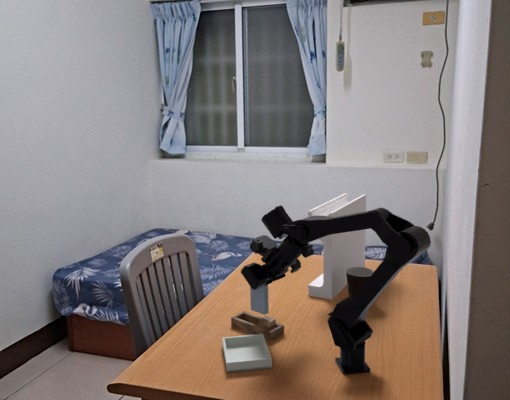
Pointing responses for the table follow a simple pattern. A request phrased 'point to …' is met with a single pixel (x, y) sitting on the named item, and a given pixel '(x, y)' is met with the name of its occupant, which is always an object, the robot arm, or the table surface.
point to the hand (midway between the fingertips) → (256, 285)
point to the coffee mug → (357, 278)
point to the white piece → (339, 247)
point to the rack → (255, 326)
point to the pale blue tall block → (259, 300)
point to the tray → (246, 353)
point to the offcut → (267, 322)
